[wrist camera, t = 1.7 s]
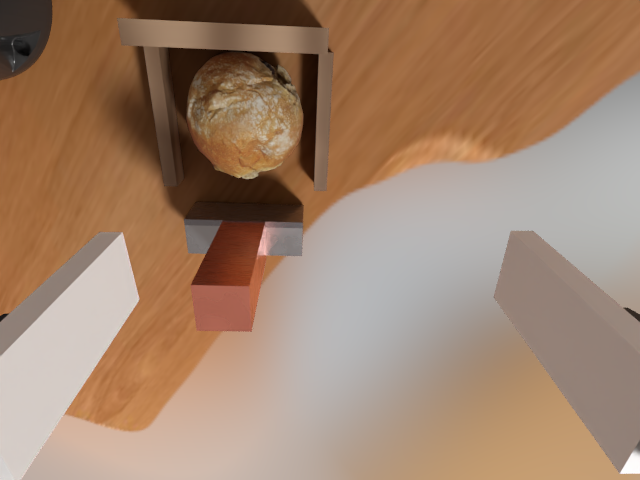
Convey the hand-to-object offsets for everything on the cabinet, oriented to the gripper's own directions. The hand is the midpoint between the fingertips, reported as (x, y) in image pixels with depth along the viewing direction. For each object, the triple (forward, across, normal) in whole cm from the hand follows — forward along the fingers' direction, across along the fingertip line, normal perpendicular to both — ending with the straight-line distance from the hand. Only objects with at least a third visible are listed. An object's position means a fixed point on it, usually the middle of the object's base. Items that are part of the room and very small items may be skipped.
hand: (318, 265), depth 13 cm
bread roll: (+27, -6, 0) cm, 27 cm away
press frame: (+26, -6, 0) cm, 27 cm away
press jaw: (+26, -7, -10) cm, 29 cm away
